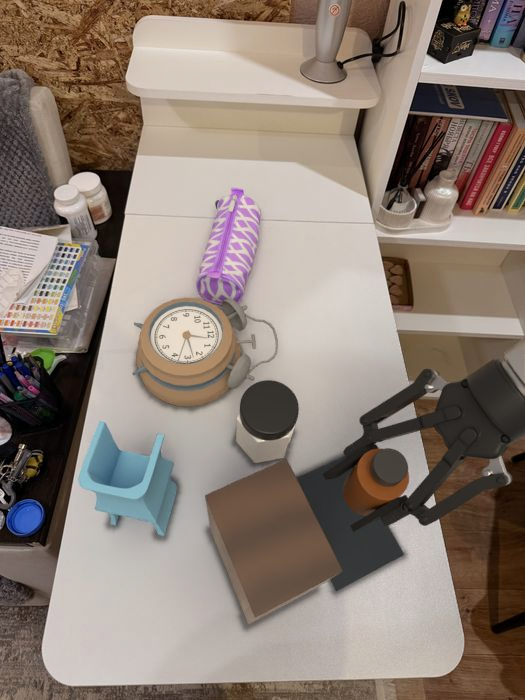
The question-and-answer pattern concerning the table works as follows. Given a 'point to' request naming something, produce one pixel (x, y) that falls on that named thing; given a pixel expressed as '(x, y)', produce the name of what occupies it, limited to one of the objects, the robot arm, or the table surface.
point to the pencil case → (230, 248)
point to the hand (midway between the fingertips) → (343, 500)
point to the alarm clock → (194, 351)
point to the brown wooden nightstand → (269, 540)
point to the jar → (266, 420)
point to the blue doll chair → (129, 480)
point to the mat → (347, 528)
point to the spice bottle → (376, 480)
